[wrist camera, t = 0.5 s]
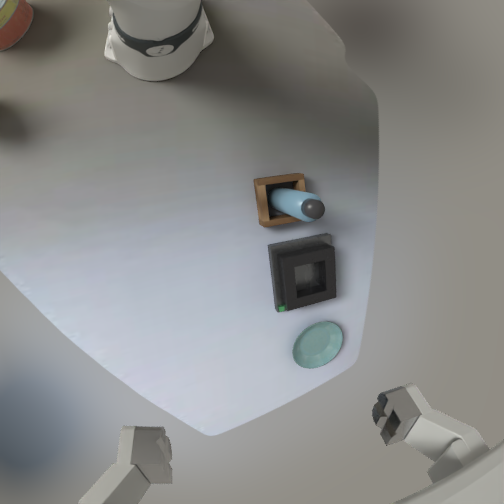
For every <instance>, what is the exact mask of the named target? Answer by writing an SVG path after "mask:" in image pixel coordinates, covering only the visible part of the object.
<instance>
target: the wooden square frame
mask: <svg viewBox="0 0 504 504" xmlns="http://www.w3.org/2000/svg"><path fill="white" fill-rule="evenodd" d="M289 181H292V182H293V190H298V191H303V192H306V191H305V182H304V174H301V173H294V174H286V175H279V176H272V177H264V178H257V179H254V186H255V193H256V201H257V209H258V216H259V224H260V225H261V226H263V227H270V226H275V225H280V224H286V223H291V222H297V221H302V220H301V219H298V218H296V217H293V216H291V215H288V214H283V215H277V216H271V217H269V212H268V204H267V196H266V188H265V185H268V184H274V183H281V182H289Z"/></svg>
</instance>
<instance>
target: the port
mask: <svg viewBox="0 0 504 504" xmlns="http://www.w3.org/2000/svg"><path fill="white" fill-rule="evenodd" d="M268 252H269V260H270V268H271V276H272V285H273V293H274V302H275V309H276V311H277V312H282V311H285V310H287V311H289V310H293V309H296V308H300V307H304V306H307V305H311V304H315V303H318V302H322V301H325V300H329V299H332V298H336V274H335V252H334V247H333V246H331V235H330V234H328V233H325V234H320V235H315V236H310V237H305V238H300V239H295V240H290V241H285V242H280V243H275V244H270V245H268Z"/></svg>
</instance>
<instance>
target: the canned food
mask: <svg viewBox="0 0 504 504" xmlns="http://www.w3.org/2000/svg"><path fill="white" fill-rule="evenodd" d="M32 19H33V9H32V7H31V6H30V5H29V4H28V3H27V2H26V0H0V51H3V50H6V49H8V48H10V47H11V46H13V45H14V44H15V43H17V42H18V41H19V40H20V39H21V38H22V37H23V35H24V34H25V33H26V32H27V30H28V28H29V27H30V25H31V22H32Z"/></svg>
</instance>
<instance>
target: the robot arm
mask: <svg viewBox="0 0 504 504" xmlns="http://www.w3.org/2000/svg"><path fill="white" fill-rule="evenodd" d="M107 1H108V2H109V4H110V9H109V15H110V16H111V17H112V19H111V22H109V25H108V29H109V32H108V37H107V42H106V47H105V53H104V54H105V58H106V59H107V60H109V61H112V62H114V63H118V64H119V65H121V66H122V67H123V68H124V69H125V70H126V71H127V72H128V73H129V74H131V75H132V76H134V77H136V78H139V79H142V80H147V81H160V80H166V79H169V78H172V77H175V76H177V75H179V74H181V73H182V72H184V71H185V70H186V69H188V68H189V67H190V66H191V65H192V64H193V62H194V61H195V60H196V58H197V56H198V55H199V53H200V52H201V51H202V50H203V49H204V48H206V47H207V46H209V45H210V44H211V43H212V42H213V40H214V34H213V32H212V29H211V27H210V24H209V21H208V19H207V16H206V14H205V11H204V9H203V6H202V0H107ZM110 48H112V49H110ZM377 399H378V402H377V403H376V404H375V405H374V407H373V410H372V416H373V420H374V422H375V424H376V426H378V427H380V428H381V433H380V434H381V436H382V438H383V440H384V442H385V444H386V446H387V445H390V444H393V443H396V442H399V441H402V440H404V441H405V442H406V443H408V444H409V445H411V446H412V447H413V448H415V449H416V450H418V451H420V452H421V453H423V454H424V455H425V456H427V457H428V458H430V459H431V460H433V461H434V462H435V463H434V464H433V465H432V466H431V467H430V468H429V469H428V472H427V473H428V475H429V477H430V478H431V480H432V482H433V484H432V485H430V486H428V487H426V488H424V489H422V490H420V491H418V492H416V493H414V494H412V495H410V496H407V497H405V498H403V499H401V500H398V501H396V502H394V503H391V504H504V440H502V441H501V442H500V443H499V444H497V445H496V446H494V447H493V448H491V449H489V448H488V446H487V445H486V443H485V442H484V440H483V439H482V437H481V436H480V434H479V433H478V431H477V430H476V429H475V428H473V427H471V426H469V425H467V424H465V423H462V422H460V421H458V420H456V419H454V418H452V417H450V416H448V415H446V414H444V413H442V412H440V411H438V410H436V409H434V410H432V409H431V407H430V406H429V404H428V403H427V401H426V400H425V398H424V397H423V395H422V394H421V392H420V391H419V389H418V388H417V386H416V385H415V384H413V383H410V384H406V385H404V386H400V387H397V388H394V389H391V390H388V391H385V392H382V393H380V394H379V395H378V398H377ZM171 459H172V450H171V444H170V440H169V438H168V437H167V436H165V429H164V427H163V426H161V427H142V426H141V427H139V426H123V427H122V429H121V433H120V441H119V449H118V457H117V463H113V464H112V465H111V466H110V467H109V468H108V470H107V471H106V472H105V473H104V474H103V475H102V476H101V477H100V478H99V480H98V481H97V482H96V483H95V484H94V485H93V486H92V487H91V488H90V490H89V491H88V492H87V493H86V494H85V495H84V496H83V497H82V498H81V499H80V501H79V504H138V503H139V502H140V500H141V499H142V497H143V496H144V494H145V493H146V491H147V489H148V488H149V487H150V484H170V483H171V484H172V468H171V466H170V464H169V462H170V461H171Z"/></svg>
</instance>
